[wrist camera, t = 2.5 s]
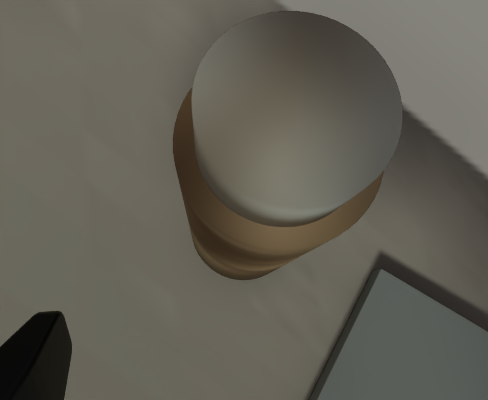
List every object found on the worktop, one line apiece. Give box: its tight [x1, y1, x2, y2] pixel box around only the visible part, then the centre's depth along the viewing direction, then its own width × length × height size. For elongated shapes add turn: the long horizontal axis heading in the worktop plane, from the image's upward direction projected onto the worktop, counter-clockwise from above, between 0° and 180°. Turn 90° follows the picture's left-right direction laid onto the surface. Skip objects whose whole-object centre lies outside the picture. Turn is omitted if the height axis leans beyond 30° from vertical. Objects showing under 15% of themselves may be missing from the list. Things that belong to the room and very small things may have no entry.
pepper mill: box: [173, 11, 403, 280], centre depth 14 cm, size 5×5×13 cm
